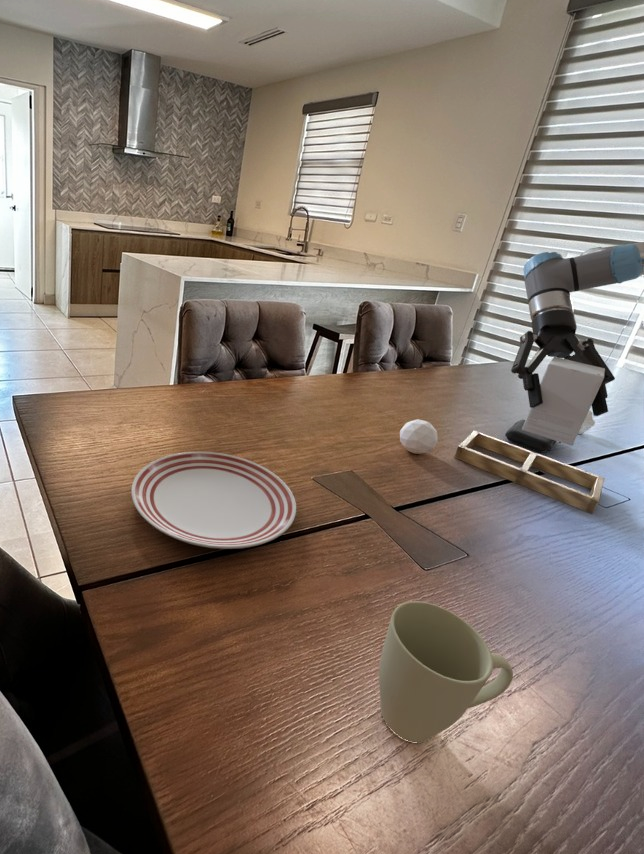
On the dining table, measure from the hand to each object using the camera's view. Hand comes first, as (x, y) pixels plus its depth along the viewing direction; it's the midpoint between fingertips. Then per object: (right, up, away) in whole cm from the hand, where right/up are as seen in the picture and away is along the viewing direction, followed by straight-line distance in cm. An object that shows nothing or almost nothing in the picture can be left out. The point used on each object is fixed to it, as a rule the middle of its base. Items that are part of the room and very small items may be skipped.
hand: (568, 409), depth 94 cm
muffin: (+30, -8, +36) cm, 47 cm away
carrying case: (+11, -9, +26) cm, 30 cm away
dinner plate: (-72, -16, -14) cm, 75 cm away
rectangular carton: (-1, -5, +5) cm, 7 cm away
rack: (-2, -14, +9) cm, 17 cm away
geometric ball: (-25, -10, +13) cm, 30 cm away
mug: (-52, -31, -44) cm, 75 cm away
